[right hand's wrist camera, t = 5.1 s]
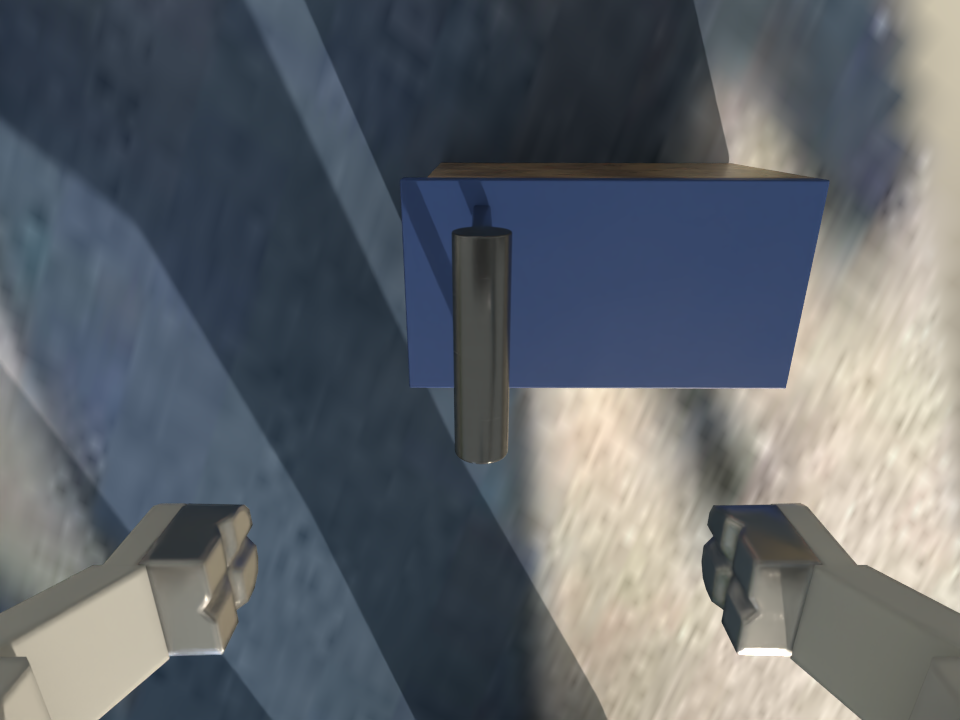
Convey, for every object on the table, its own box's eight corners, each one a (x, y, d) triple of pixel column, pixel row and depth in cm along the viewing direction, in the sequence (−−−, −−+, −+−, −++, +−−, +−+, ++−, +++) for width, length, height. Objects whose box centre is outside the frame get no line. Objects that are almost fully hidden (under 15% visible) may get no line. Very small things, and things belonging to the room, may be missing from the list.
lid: (411, 379, 28) (382, 486, 20) (402, 177, 25) (363, 205, 17) (776, 380, 28) (897, 487, 20) (817, 178, 25) (985, 207, 17)
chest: (443, 319, 37) (432, 378, 28) (440, 162, 33) (426, 177, 25) (707, 319, 37) (775, 380, 28) (731, 163, 33) (817, 177, 25)
